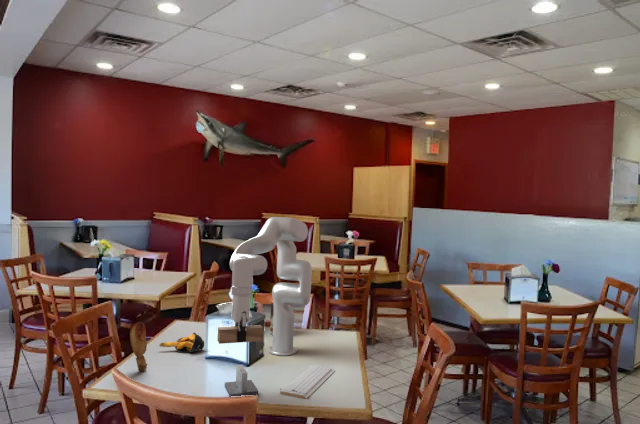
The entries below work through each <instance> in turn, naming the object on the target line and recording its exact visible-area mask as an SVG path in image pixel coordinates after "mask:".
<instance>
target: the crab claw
mask: <svg viewBox="0 0 640 424" xmlns="http://www.w3.org/2000/svg"><path fill="white" fill-rule="evenodd" d="M146 336H147V331H146V325H145V324H144V323H143V322H141V321H139V322H138V321H137V322H136V323H134V324H133V325H132V326H131V329H130V330H129V339H130V346H131V348H132V351H133V353H134V355H135V362H136V367H137V370H138V372H144V371H147V368H148V367H147V366H148V363H147V359H146V358H145V356H144V355H145V353H146V351H147V348H148V344H147V343H148V341H147V337H146Z"/></svg>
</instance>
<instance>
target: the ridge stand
mask: <svg viewBox="0 0 640 424" xmlns="http://www.w3.org/2000/svg"><path fill="white" fill-rule="evenodd" d="M235 370H236V371H235V372H236V374H235V380H234V381H229V382H228V381H227V382H224V388H225V390H226V392H227V394H228V396H229V397H230V396H241V395H254V396H259V393H260V392H259V389H258V388H257V387H256V385H255V383H254V382H253V380H252V379H248V371H247V370H246V368H245V367H244V365H243V364H236V369H235ZM256 394H257V395H256Z"/></svg>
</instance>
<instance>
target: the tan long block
mask: <svg viewBox="0 0 640 424" xmlns="http://www.w3.org/2000/svg"><path fill="white" fill-rule="evenodd" d="M237 331H238V326H231V327H218V334H217V342H218V344H220V345H221V344H234V343H235V344H237V343H240V342H237ZM263 337H264V327H263V326H262V325H261V324H255V325H253V324H251V325H250V326H246V341H245V342H244V343H253V342H263V341H264V338H263Z"/></svg>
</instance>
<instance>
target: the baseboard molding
mask: <svg viewBox="0 0 640 424" xmlns="http://www.w3.org/2000/svg"><path fill="white" fill-rule="evenodd" d="M335 371H336V370H335V369H333V368H330V367H329V368H328V367H324V366H319V365H312V364H311V365H309V366H308V367H307V368H306V369H304V371H303V372H301V373H300V374H299V375H297V376H296V377H295V378H294V379H292V381H290V382H289V383H288V384H286V386H283V387H284V388H280V389H279V390H280V392H279V394H280V395H285V396H289V397H295V398H301V399H305V400H307V399H308V400H309V399H310V397H311V396H312V395H313V393H315V392H316V391H317V389H319V388H320V387H321V385H323V384H324V383H325V381H326V380H327V379H328V378H330V377H331V376H332V375H333V374H334V372H335Z"/></svg>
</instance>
